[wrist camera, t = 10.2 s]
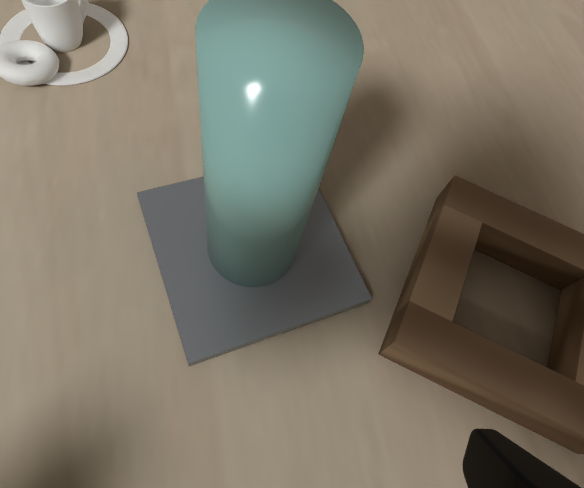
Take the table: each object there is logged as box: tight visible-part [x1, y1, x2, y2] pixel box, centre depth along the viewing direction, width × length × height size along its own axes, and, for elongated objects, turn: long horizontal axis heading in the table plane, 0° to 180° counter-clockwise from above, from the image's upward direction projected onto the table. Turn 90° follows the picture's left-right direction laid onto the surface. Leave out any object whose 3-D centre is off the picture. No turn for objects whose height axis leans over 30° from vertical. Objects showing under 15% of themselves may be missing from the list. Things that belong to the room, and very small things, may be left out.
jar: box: [196, 0, 364, 287], centre depth 19 cm, size 5×5×14 cm
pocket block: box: [379, 176, 584, 454], centre depth 25 cm, size 11×11×2 cm
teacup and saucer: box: [0, 0, 128, 86], centre depth 29 cm, size 9×8×4 cm
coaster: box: [137, 177, 372, 366], centre depth 25 cm, size 10×10×1 cm
